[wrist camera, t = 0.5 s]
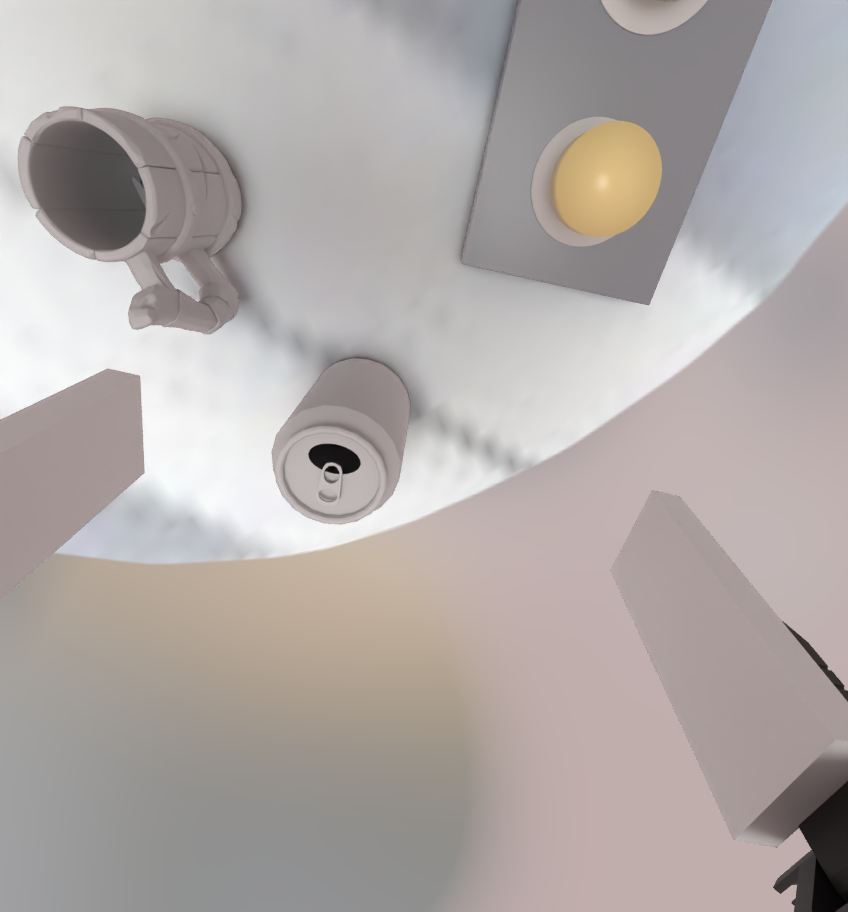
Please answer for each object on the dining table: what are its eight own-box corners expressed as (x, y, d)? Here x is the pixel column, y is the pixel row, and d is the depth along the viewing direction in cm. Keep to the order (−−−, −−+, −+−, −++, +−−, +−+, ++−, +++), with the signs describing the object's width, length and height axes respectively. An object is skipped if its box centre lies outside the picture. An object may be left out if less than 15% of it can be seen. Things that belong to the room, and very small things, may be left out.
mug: (205, 99, 29) (64, 35, 18) (297, 293, 34) (229, 332, 23) (102, 154, 30) (-84, 124, 20) (204, 332, 35) (100, 385, 25)
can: (420, 367, 36) (410, 434, 25) (400, 455, 39) (384, 547, 28) (320, 344, 35) (266, 403, 25) (309, 435, 39) (257, 521, 28)
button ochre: (568, 116, 24) (578, 109, 23) (662, 139, 25) (679, 134, 23) (538, 224, 27) (544, 225, 25) (624, 244, 27) (637, 246, 25)
